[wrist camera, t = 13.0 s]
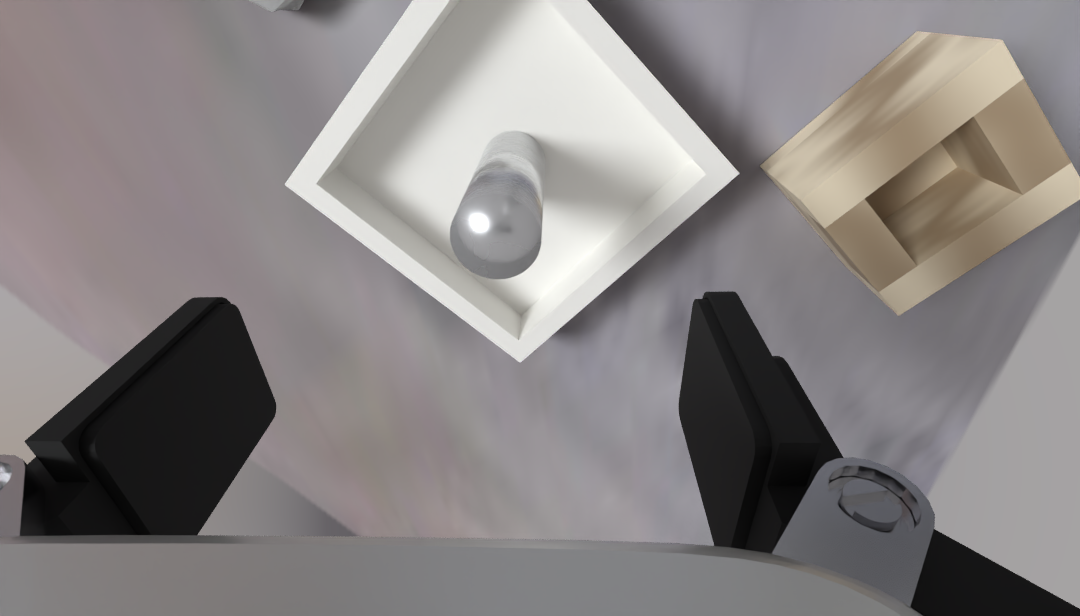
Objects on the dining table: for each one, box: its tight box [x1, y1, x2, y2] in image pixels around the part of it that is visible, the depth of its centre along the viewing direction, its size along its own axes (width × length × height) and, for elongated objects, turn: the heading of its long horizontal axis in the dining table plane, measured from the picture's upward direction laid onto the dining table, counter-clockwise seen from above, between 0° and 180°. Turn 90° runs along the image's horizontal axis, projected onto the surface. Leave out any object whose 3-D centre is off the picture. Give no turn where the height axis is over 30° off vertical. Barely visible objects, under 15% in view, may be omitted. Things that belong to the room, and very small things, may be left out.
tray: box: [285, 0, 740, 362], centre depth 24 cm, size 14×14×4 cm
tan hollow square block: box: [760, 31, 1080, 316], centre depth 23 cm, size 8×8×5 cm
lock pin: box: [450, 131, 546, 279], centre depth 21 cm, size 3×3×9 cm
